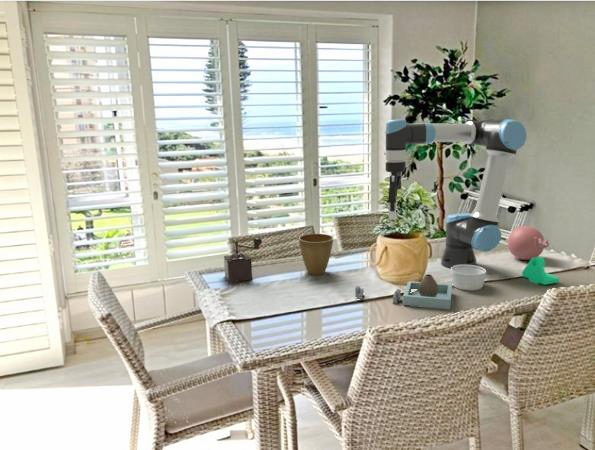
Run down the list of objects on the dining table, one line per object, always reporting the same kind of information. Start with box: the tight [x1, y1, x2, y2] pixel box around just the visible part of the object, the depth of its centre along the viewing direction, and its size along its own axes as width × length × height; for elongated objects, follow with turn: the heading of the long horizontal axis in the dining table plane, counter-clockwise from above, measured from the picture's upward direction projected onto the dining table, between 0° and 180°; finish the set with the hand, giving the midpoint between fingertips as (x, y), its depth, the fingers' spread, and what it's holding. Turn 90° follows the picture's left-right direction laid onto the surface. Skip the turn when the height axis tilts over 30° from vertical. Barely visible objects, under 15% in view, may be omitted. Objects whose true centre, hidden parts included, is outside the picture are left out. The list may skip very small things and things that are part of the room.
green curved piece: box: [521, 256, 560, 286], centre depth 203 cm, size 12×8×10 cm, turn 19°
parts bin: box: [402, 280, 453, 310], centre depth 189 cm, size 16×16×4 cm
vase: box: [419, 273, 438, 297], centre depth 188 cm, size 7×7×9 cm
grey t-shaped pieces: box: [354, 285, 402, 305], centre depth 191 cm, size 6×17×4 cm, turn 72°
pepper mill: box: [223, 237, 263, 283], centre depth 219 cm, size 16×11×18 cm
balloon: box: [507, 225, 550, 261], centre depth 229 cm, size 15×20×15 cm
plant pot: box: [298, 233, 334, 276], centre depth 222 cm, size 15×15×16 cm
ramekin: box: [450, 265, 487, 291], centre depth 201 cm, size 13×13×7 cm
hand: (395, 215), depth 198 cm, fingers open, 13 cm apart
